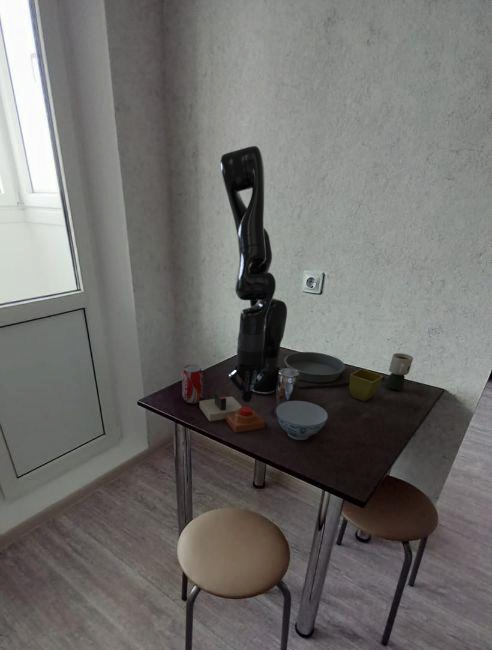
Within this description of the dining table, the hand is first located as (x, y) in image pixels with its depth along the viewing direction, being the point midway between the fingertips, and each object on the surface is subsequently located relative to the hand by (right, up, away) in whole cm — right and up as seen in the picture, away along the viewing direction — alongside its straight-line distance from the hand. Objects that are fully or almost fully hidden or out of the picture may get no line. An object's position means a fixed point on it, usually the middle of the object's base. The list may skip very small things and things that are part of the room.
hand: (246, 400), depth 123 cm
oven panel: (-8, -3, +11) cm, 13 cm away
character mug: (+59, +7, +33) cm, 68 cm away
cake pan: (+30, +15, +43) cm, 55 cm away
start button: (0, -4, +2) cm, 5 cm away
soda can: (-18, +1, +17) cm, 25 cm away
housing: (0, -7, +4) cm, 8 cm away
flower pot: (+44, +3, +24) cm, 50 cm away
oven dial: (-8, -1, +8) cm, 12 cm away
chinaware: (+16, -10, 0) cm, 19 cm away
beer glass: (+13, -4, +11) cm, 17 cm away
